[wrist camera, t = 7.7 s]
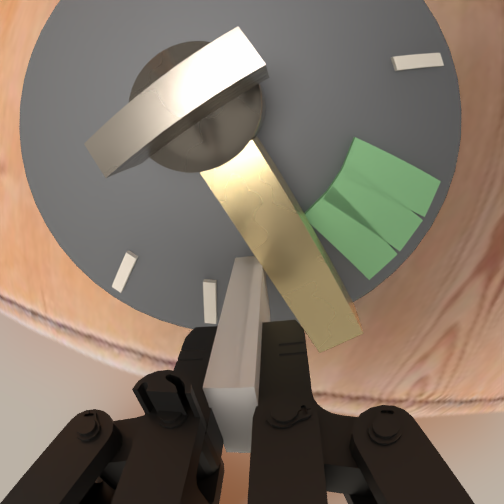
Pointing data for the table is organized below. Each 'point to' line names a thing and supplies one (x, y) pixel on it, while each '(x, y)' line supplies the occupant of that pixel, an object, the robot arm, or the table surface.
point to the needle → (230, 167)
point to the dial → (271, 136)
